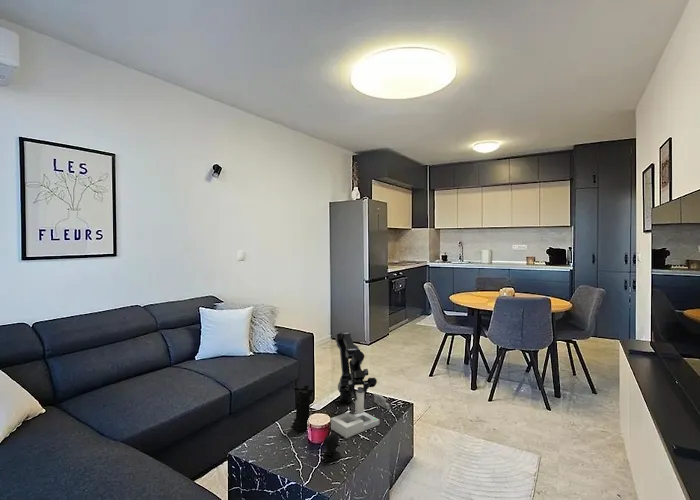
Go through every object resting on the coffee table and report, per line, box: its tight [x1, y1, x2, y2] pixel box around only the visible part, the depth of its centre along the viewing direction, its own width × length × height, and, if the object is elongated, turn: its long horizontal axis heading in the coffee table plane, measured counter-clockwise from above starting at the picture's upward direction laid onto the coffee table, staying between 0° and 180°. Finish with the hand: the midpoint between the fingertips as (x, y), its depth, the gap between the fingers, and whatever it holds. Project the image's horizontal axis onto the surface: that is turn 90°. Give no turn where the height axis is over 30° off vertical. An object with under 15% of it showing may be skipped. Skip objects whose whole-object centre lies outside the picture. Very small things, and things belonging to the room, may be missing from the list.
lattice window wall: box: [373, 392, 391, 410], centre depth 217 cm, size 12×2×6 cm, turn 37°
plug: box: [354, 386, 365, 414], centre depth 193 cm, size 4×4×12 cm
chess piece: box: [291, 384, 314, 435], centre depth 188 cm, size 8×8×20 cm
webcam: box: [322, 432, 342, 463], centre depth 164 cm, size 8×8×10 cm
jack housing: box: [330, 411, 381, 439], centre depth 192 cm, size 12×22×5 cm, turn 131°
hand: (360, 399), depth 192 cm, fingers closed on plug, 4 cm apart
